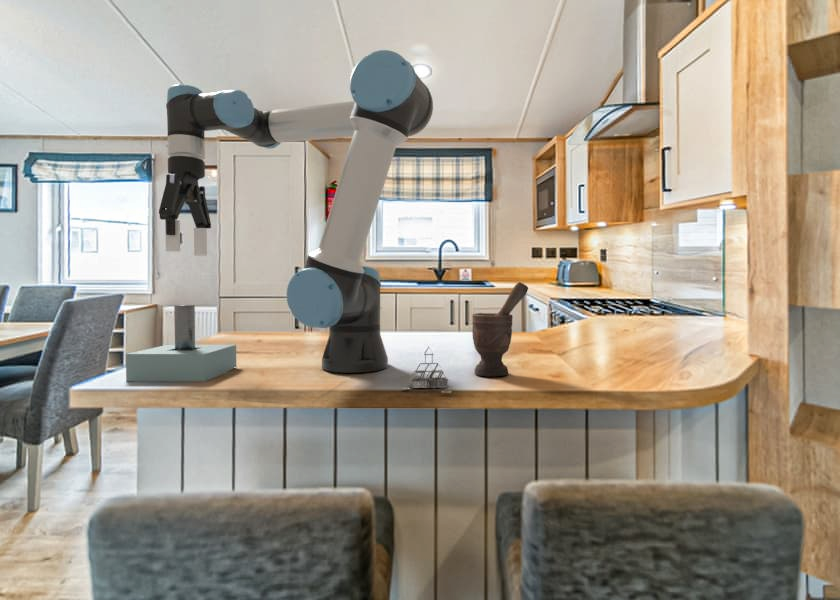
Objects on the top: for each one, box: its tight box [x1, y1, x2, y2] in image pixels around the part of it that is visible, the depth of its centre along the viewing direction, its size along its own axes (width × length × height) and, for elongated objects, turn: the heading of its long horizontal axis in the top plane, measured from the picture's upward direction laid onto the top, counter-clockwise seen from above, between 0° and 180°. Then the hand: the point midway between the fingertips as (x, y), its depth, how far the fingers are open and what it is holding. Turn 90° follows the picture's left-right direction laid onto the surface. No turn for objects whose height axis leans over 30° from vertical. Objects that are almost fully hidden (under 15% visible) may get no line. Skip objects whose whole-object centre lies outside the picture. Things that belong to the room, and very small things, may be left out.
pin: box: [173, 304, 196, 351], centre depth 106 cm, size 4×4×14 cm
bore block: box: [125, 344, 237, 382], centre depth 107 cm, size 16×16×6 cm
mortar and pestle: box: [471, 281, 529, 378], centre depth 105 cm, size 12×9×20 cm
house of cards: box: [402, 345, 452, 393], centre depth 93 cm, size 9×9×8 cm
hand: (187, 253), depth 111 cm, fingers open, 13 cm apart
